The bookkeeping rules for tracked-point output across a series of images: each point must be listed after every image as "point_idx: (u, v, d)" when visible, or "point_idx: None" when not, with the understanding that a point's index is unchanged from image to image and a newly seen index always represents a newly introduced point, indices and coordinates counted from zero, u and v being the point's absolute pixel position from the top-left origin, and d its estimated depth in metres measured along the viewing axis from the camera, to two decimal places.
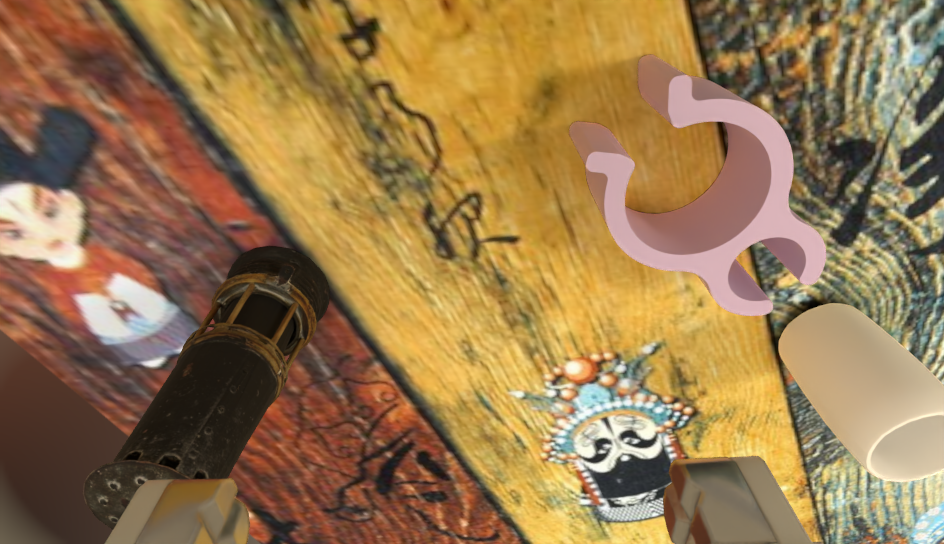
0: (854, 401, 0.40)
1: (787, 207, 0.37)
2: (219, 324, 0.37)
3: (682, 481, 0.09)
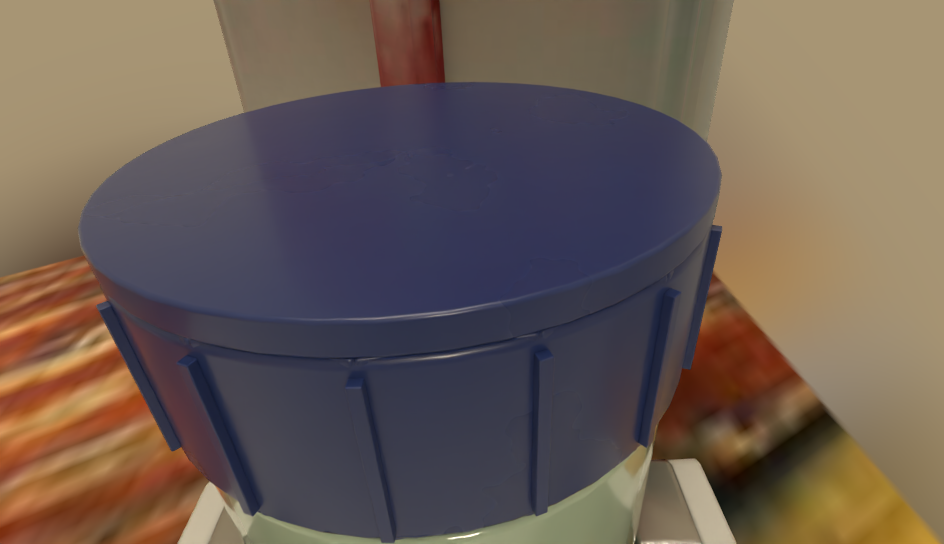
0: None
1: None
2: None
3: None
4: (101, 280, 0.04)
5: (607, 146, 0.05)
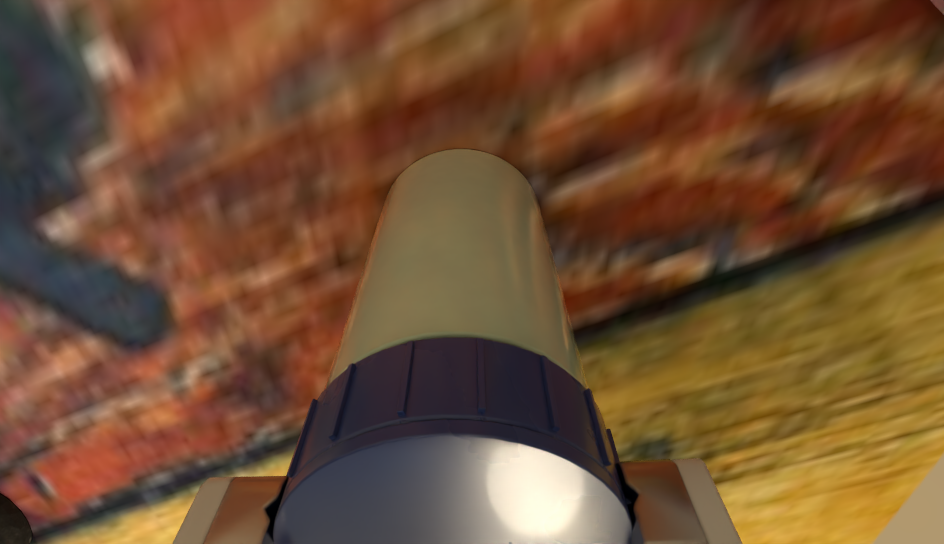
0: None
1: None
2: None
3: (622, 484, 0.09)
4: None
5: None
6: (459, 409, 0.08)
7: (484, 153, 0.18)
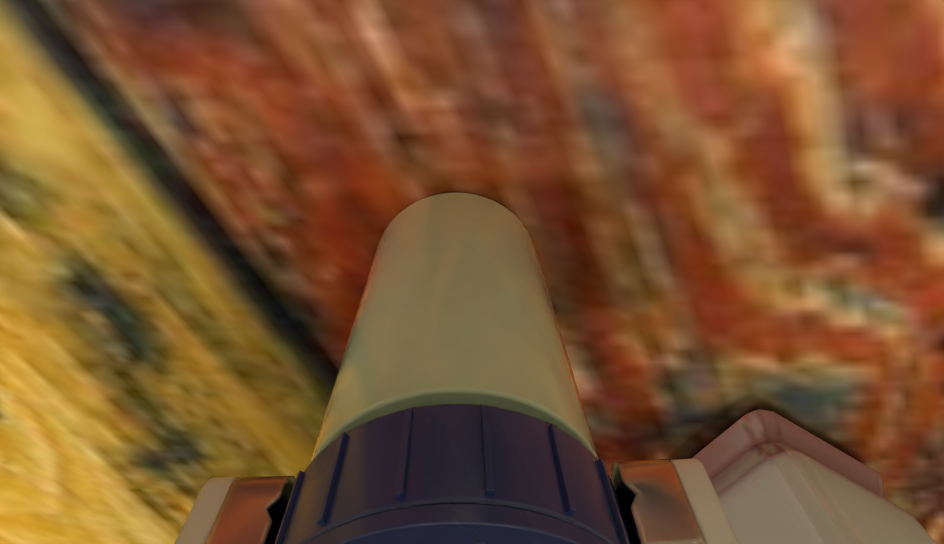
0: None
1: None
2: None
3: (620, 483, 0.09)
4: None
5: None
6: (464, 491, 0.07)
7: None
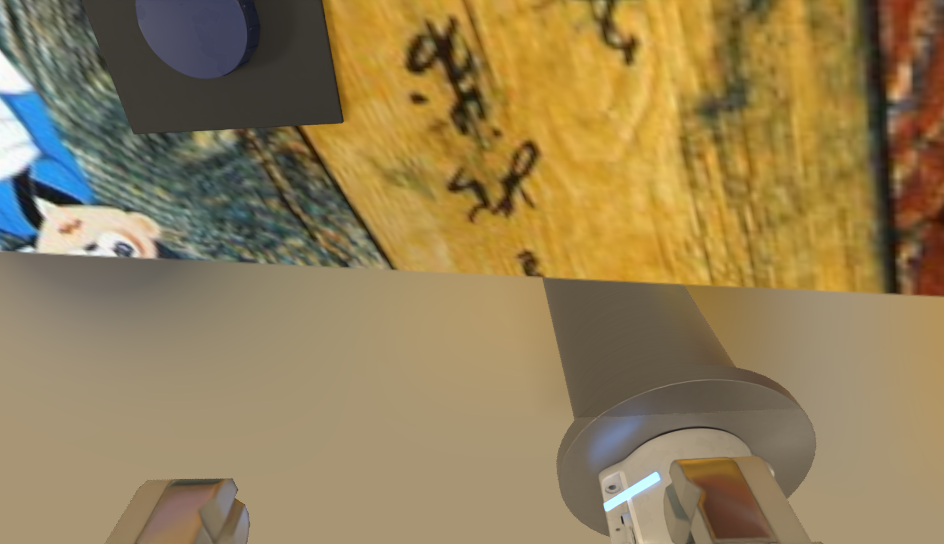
0: None
1: None
2: None
3: (682, 481, 0.09)
4: (238, 64, 0.31)
5: None
6: None
7: None
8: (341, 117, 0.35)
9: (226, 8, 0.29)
